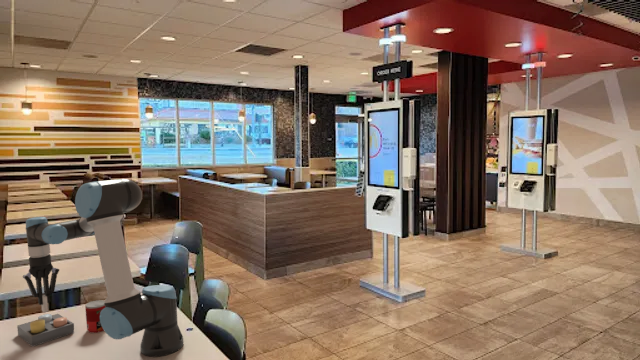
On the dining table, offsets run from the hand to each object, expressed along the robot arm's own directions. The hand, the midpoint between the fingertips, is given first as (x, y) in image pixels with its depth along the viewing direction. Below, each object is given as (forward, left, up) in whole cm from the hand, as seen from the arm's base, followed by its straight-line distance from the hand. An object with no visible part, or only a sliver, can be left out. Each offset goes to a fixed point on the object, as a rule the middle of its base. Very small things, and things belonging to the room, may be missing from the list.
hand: (45, 311), depth 182 cm
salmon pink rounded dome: (-9, -2, -6) cm, 11 cm away
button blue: (0, 0, -6) cm, 6 cm away
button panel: (-4, +2, -8) cm, 9 cm away
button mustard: (-9, +6, -4) cm, 11 cm away
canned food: (-17, -13, -8) cm, 23 cm away
